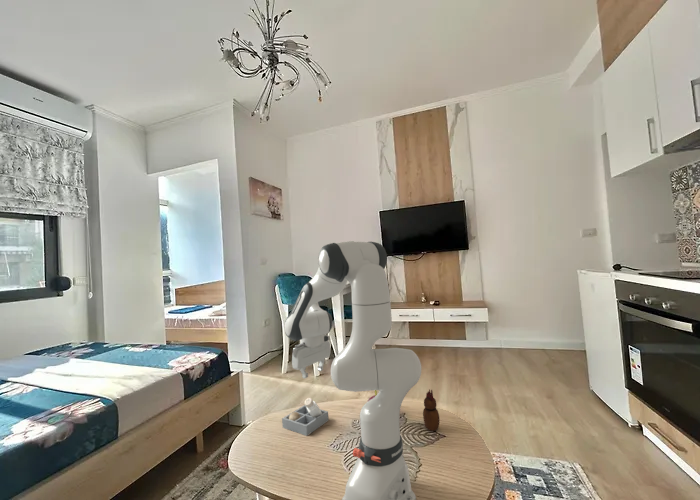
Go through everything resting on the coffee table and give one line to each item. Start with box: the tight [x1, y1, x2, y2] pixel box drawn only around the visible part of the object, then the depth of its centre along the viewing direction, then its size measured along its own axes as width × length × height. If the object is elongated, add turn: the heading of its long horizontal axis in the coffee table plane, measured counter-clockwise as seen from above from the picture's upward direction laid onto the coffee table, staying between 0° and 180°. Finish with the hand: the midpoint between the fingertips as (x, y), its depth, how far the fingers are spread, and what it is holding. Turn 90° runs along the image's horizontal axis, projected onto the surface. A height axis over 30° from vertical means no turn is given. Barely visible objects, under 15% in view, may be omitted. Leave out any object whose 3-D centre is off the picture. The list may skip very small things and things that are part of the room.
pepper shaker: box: [304, 397, 322, 418], centre depth 130 cm, size 4×4×10 cm
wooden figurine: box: [422, 389, 441, 431], centre depth 121 cm, size 7×6×15 cm
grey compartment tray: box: [281, 404, 329, 437], centre depth 130 cm, size 13×13×4 cm
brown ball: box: [289, 411, 300, 421], centre depth 130 cm, size 5×5×5 cm
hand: (313, 374), depth 132 cm, fingers open, 8 cm apart
